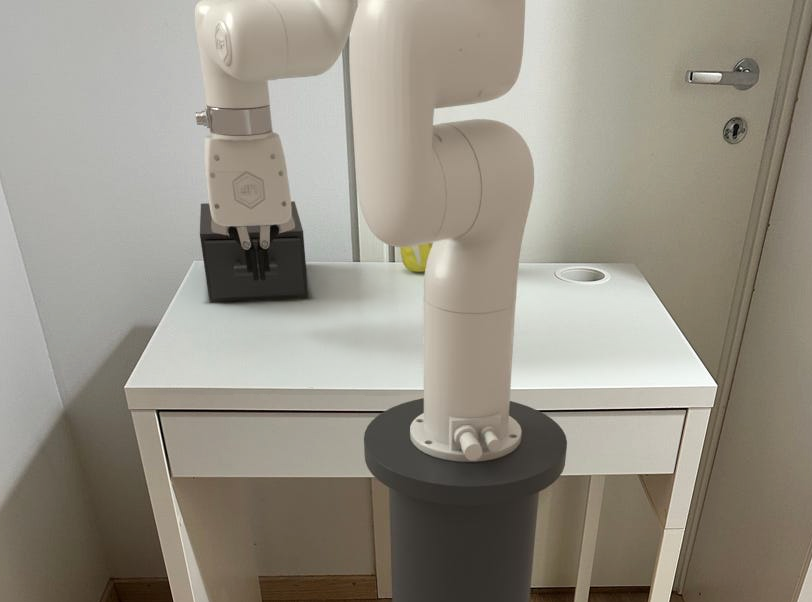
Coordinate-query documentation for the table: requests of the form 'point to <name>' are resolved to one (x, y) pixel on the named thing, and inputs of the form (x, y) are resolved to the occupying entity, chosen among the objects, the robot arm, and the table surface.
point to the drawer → (237, 282)
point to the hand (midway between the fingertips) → (259, 277)
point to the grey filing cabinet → (253, 233)
